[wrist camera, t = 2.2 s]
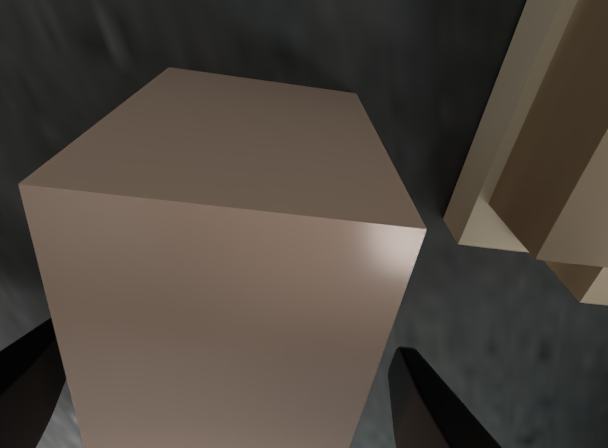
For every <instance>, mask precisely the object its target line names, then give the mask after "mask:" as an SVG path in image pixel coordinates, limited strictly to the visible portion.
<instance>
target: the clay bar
mask: <svg viewBox="0 0 608 448" xmlns="http://www.w3.org/2000/svg"><path fill="white" fill-rule="evenodd" d="M18 186H19V190H20V194H21V198H22V202H23V206H24V210H25V214H26V218H27V222H28V226H29V230H30V234H31V238H32V242H33V246H34V250H35V254H36V258H37V262H38V266H39V270H40V274H41V278H42V282H43V286H44V290H45V294H46V298H47V302H48V306H49V310H50V314H51V318H52V322H53V326H54V330H55V334H56V338H57V342H58V346H59V350H60V354H61V358H62V362H63V366H64V370H65V374H66V378H67V382H68V386H69V391H70V395H71V399H72V403H73V407H74V411H75V415H76V419H77V423H78V427H79V431H80V435H81V439H82V443H83V447H84V448H349V447H350V445H351V442H352V439H353V436H354V433H355V430H356V428H357V425H358V422H359V419H360V416H361V414H362V411H363V408H364V405H365V402H366V399H367V397H368V394H369V391H370V388H371V385H372V383H373V380H374V377H375V374H376V371H377V368H378V366H379V363H380V360H381V357H382V354H383V352H384V349H385V346H386V343H387V340H388V337H389V335H390V332H391V329H392V326H393V323H394V321H395V318H396V315H397V312H398V309H399V307H400V304H401V301H402V298H403V295H404V292H405V290H406V287H407V284H408V281H409V278H410V276H411V273H412V270H413V267H414V264H415V261H416V259H417V256H418V253H419V250H420V247H421V245H422V242H423V239H424V236H425V233H426V230H427V228H426V227H425V225H424V223H423V221H422V219H421V217H420V215H419V213H418V211H417V209H416V207H415V205H414V203H413V202H412V200H411V198H410V196H409V194H408V192H407V190H406V188H405V186H404V184H403V182H402V180H401V178H400V177H399V175H398V173H397V171H396V169H395V167H394V165H393V163H392V161H391V159H390V157H389V155H388V153H387V152H386V150H385V148H384V146H383V144H382V142H381V140H380V138H379V136H378V134H377V132H376V130H375V128H374V127H373V125H372V123H371V121H370V119H369V117H368V115H367V113H366V111H365V109H364V107H363V105H362V103H361V102H360V100H359V98H358V96H357V94H356V93H350V92H343V91H336V90H329V89H322V88H314V87H307V86H300V85H293V84H286V83H279V82H272V81H264V80H257V79H250V78H243V77H236V76H229V75H222V74H214V73H207V72H200V71H193V70H186V69H179V68H171V67H168V68H167V69H166V70H165V71H163V72H162V73H161V74H159V75H158V76H157V77H155V78H154V79H153V80H152V81H150V82H149V83H148V84H146V85H145V86H144V87H143V88H141V89H140V90H139V91H137V92H136V93H135V94H134V95H132V96H131V97H130V98H128V99H127V100H126V101H125V102H123V103H122V104H121V105H119V106H118V107H117V108H116V109H114V110H113V111H112V112H110V113H109V114H108V115H107V116H105V117H104V118H103V119H101V120H100V121H99V122H98V123H96V124H95V125H94V126H92V127H91V128H90V129H88V130H87V131H86V132H85V133H83V134H82V135H81V136H79V137H78V138H77V139H76V140H74V141H73V142H72V143H70V144H69V145H68V146H67V147H65V148H64V149H63V150H61V151H60V152H59V153H58V154H56V155H55V156H54V157H52V158H51V159H50V160H49V161H47V162H46V163H45V164H43V165H42V166H41V167H40V168H38V169H37V170H36V171H34V172H33V173H32V174H31V175H29V176H28V177H27V178H25V179H24V180H23V181H21V182H20V183H19V184H18Z"/></svg>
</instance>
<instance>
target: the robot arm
mask: <svg viewBox="0 0 608 448" xmlns="http://www.w3.org/2000/svg"><path fill="white" fill-rule="evenodd" d="M388 379H389V389H390V399H391V409H392V419H393V429H394V437H395V443H396V448H501V446H500V445H499V444H498V443H497V442H496V441H495V440H494V438H493V437H492V436H491V435H490V434H489V433H488V432H487V430H486V429H485V428H484V427H483V426H482V425H481V423H480V422H479V421H478V420H477V419H476V418H475V417H474V415H473V414H472V413H471V412H470V411H469V410H468V409H467V407H466V406H465V405H464V404H463V403H462V402H461V401H460V399H459V398H458V397H457V396H456V395H455V394H454V392H453V391H452V390H451V389H450V388H449V387H448V386H447V384H446V383H445V382H444V381H443V380H442V379H441V378H440V376H439V375H438V374H437V373H436V372H435V371H434V370H433V368H432V367H431V366H430V365H429V364H428V363H427V361H426V360H425V359H424V358H423V357H422V356H421V355H420V353H419V352H418V351H417V350H416V349H414V348H411V347H398V348H397V349H396V351H395V354H394V357H393V359H392V362H391V364H390V367H389V371H388ZM65 380H66V374H65V370H64V366H63V362H62V358H61V354H60V350H59V346H58V342H57V338H56V334H55V330H54V326H53V322H52V318H50V319H48V320H46V321H45V322H43V323H42V324H40V325H39V326H37V327H36V328H34V329H33V330H31V331H30V332H28V333H27V334H25V335H24V336H22V337H21V338H19V339H18V340H16V341H15V342H13V343H12V344H10V345H9V346H7V347H6V348H4V349H3V350H1V351H0V448H36V446H37V444H38V443H39V441H40V439H41V437H42V435H43V433H44V431H45V429H46V427H47V425H48V423H49V421H50V418H51V416H52V414H53V411H54V409H55V407H56V404H57V401H58V399H59V396H60V394H61V391H62V388H63V386H64V383H65Z"/></svg>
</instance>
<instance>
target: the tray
mask: <svg viewBox="0 0 608 448" xmlns="http://www.w3.org/2000/svg"><path fill="white" fill-rule="evenodd" d="M443 221H444V222H445V224H446V225H447V227H448V229H449V230H450V232H451V234H452V235H453V237H454V239H455V240H456V242H457V244H458V245H467V246H476V247H485V248H494V249H502V250H511V251H520V252H529V253H530V254H531V255H532V257H533V258H534V259H535V260H543V261H544V262H545V263H546V264H547V266H548V267H549V268H550V269H551V270H552V271H553V272H554V274H555V275H556V276H557V277H558V278H559V279H560V280H561V282H562V283H563V284H564V285H565V286H566V287H567V289H568V290H569V291H570V292H571V293H572V294H573V295H574V297H575V298H576V299H577V300H578V301H579V302H580V303H589V304H599V305H608V0H527V1H526V4H525V6H524V9H523V12H522V14H521V17H520V20H519V22H518V25H517V27H516V30H515V33H514V35H513V38H512V40H511V43H510V46H509V48H508V51H507V53H506V56H505V59H504V61H503V64H502V66H501V69H500V72H499V74H498V77H497V79H496V82H495V85H494V87H493V90H492V93H491V95H490V98H489V100H488V103H487V106H486V108H485V111H484V113H483V116H482V119H481V121H480V124H479V126H478V129H477V132H476V134H475V137H474V139H473V142H472V145H471V147H470V150H469V152H468V155H467V158H466V160H465V163H464V165H463V168H462V171H461V173H460V176H459V179H458V181H457V184H456V186H455V189H454V192H453V194H452V197H451V199H450V202H449V205H448V207H447V210H446V212H445V215H444V218H443Z"/></svg>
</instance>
